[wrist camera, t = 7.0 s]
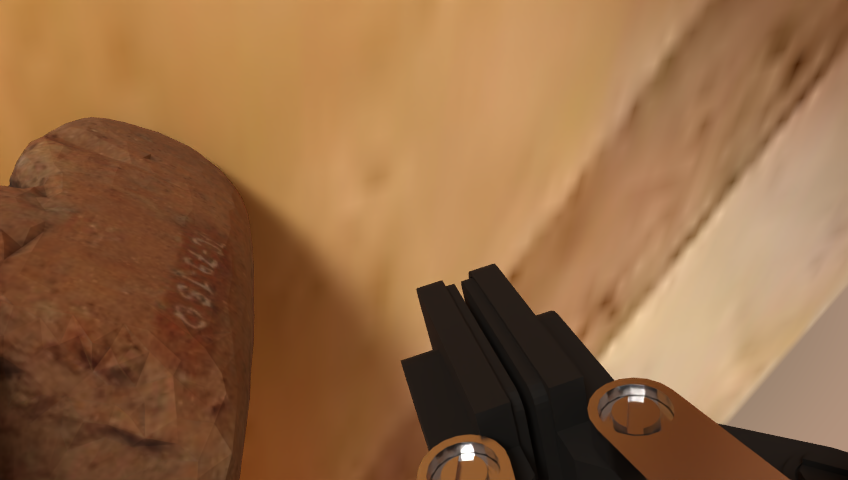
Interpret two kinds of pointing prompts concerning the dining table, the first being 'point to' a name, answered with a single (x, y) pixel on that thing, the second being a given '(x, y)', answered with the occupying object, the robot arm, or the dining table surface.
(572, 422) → the robot arm
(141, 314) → the block
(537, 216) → the dining table surface
